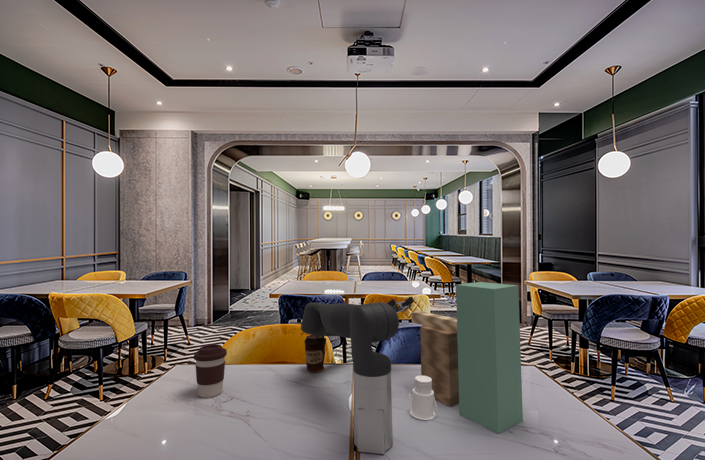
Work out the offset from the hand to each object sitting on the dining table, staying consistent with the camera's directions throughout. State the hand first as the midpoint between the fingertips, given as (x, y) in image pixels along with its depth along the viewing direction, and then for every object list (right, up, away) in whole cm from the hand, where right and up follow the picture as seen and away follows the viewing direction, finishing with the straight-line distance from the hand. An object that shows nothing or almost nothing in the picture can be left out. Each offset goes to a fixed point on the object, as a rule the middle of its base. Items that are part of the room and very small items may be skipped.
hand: (403, 300), depth 124 cm
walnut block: (+10, -27, -16) cm, 33 cm away
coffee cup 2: (-32, -29, +8) cm, 44 cm away
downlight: (+1, -27, -27) cm, 38 cm away
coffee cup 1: (-65, -28, -11) cm, 71 cm away
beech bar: (+9, -6, -13) cm, 17 cm away
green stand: (+19, -26, -29) cm, 44 cm away
